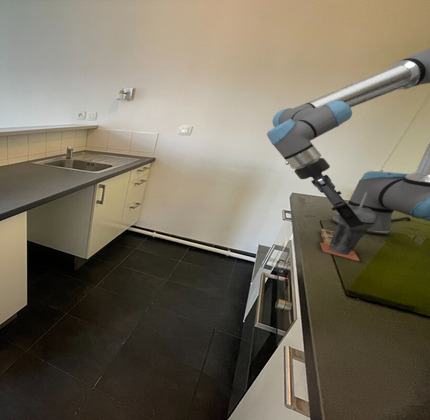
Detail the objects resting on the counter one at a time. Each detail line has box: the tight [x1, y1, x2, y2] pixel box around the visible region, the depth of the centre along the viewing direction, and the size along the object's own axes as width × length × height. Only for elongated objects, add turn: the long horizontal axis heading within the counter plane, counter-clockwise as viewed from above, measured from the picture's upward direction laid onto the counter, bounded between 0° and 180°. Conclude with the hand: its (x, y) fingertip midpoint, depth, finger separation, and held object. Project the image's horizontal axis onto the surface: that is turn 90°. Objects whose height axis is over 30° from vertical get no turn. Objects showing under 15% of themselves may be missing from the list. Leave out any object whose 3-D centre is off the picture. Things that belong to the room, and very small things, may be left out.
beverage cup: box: [329, 192, 376, 255], centre depth 76 cm, size 7×7×20 cm
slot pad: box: [319, 242, 360, 262], centre depth 80 cm, size 8×8×1 cm
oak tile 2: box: [321, 235, 332, 245], centre depth 84 cm, size 6×6×2 cm
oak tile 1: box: [319, 228, 335, 238], centre depth 89 cm, size 6×6×2 cm
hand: (352, 219), depth 76 cm, fingers open, 13 cm apart
